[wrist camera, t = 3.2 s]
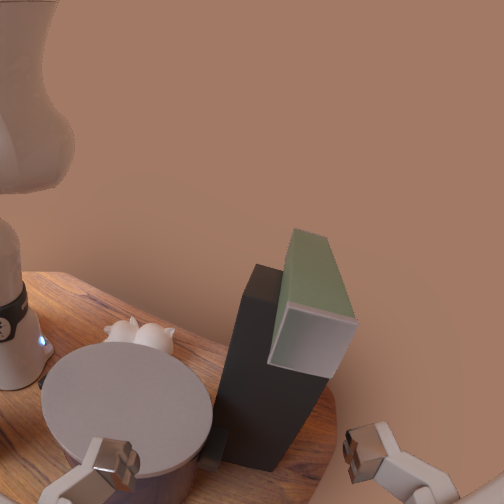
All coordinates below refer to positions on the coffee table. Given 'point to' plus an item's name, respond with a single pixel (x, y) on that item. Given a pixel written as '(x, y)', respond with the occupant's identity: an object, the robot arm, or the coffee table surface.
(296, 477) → the coffee table surface
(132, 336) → the cat figurine
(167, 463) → the stock pot
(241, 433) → the pedestal
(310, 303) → the green long square bar
